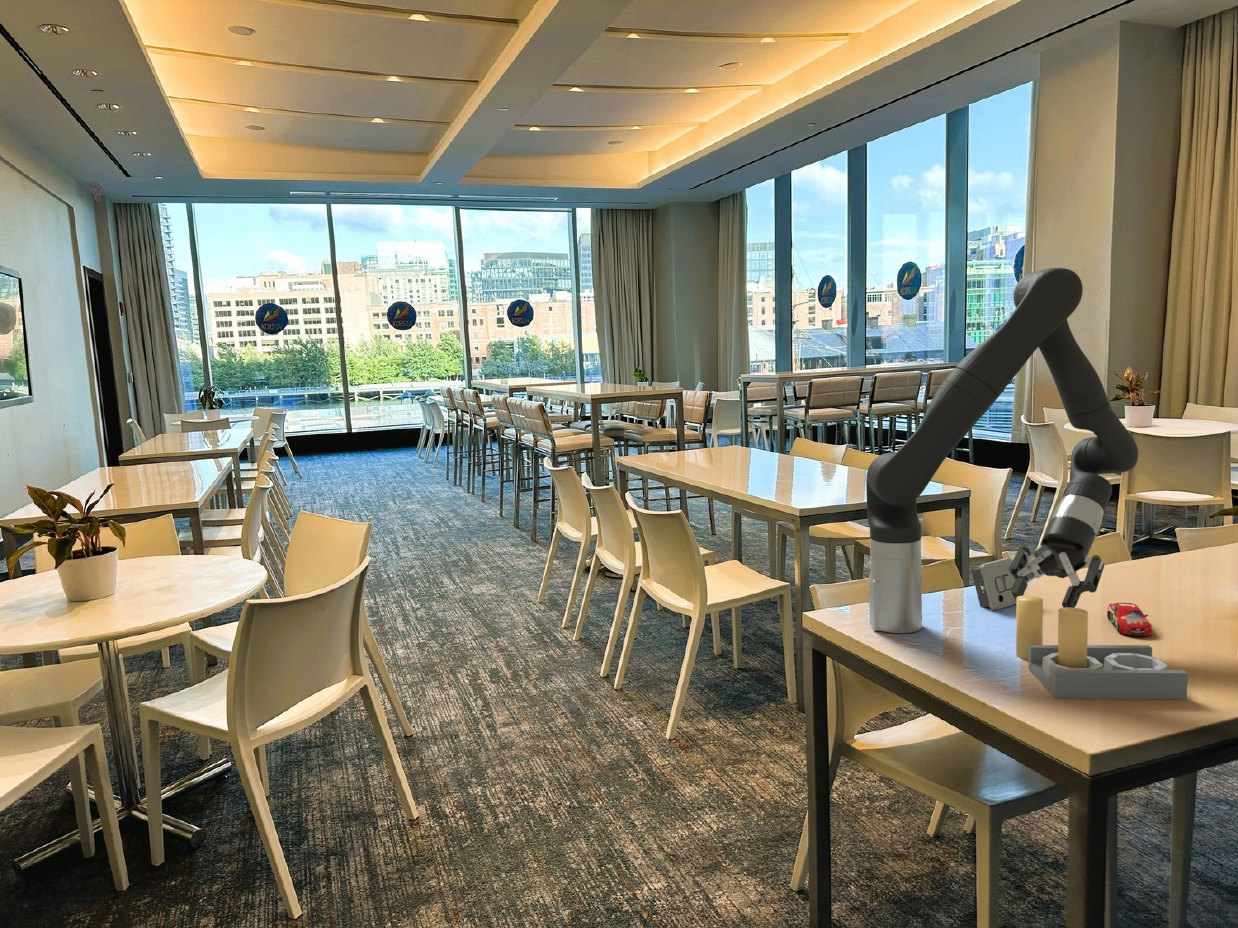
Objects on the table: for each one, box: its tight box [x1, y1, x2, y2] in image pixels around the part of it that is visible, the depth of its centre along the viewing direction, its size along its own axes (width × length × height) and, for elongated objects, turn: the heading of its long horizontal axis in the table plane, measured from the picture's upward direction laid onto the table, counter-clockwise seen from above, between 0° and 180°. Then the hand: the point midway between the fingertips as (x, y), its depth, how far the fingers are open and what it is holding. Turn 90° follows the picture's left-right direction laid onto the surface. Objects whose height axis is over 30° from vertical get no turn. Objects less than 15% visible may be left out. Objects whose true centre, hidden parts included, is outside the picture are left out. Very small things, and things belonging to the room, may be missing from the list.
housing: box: [1027, 607, 1189, 701], centre depth 129 cm, size 18×12×12 cm, turn 82°
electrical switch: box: [971, 557, 1017, 611], centre depth 171 cm, size 9×5×9 cm, turn 121°
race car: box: [1106, 602, 1153, 637], centre depth 154 cm, size 13×5×4 cm, turn 160°
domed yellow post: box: [1015, 595, 1044, 661], centre depth 142 cm, size 4×4×10 cm
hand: (1040, 603), depth 143 cm, fingers open, 8 cm apart
